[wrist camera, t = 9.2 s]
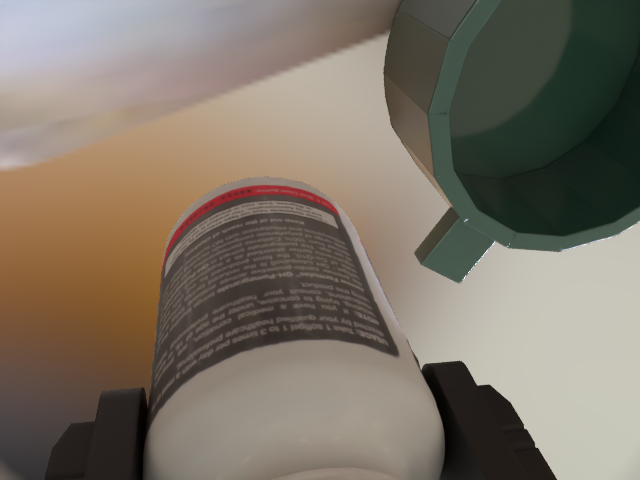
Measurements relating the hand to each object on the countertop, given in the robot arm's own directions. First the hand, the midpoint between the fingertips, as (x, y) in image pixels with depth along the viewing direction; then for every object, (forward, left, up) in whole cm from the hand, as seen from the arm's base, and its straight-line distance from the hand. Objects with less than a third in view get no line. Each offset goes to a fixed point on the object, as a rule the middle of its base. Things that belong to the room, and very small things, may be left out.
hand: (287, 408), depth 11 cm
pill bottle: (0, 0, -6) cm, 6 cm away
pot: (+10, +9, -17) cm, 22 cm away
